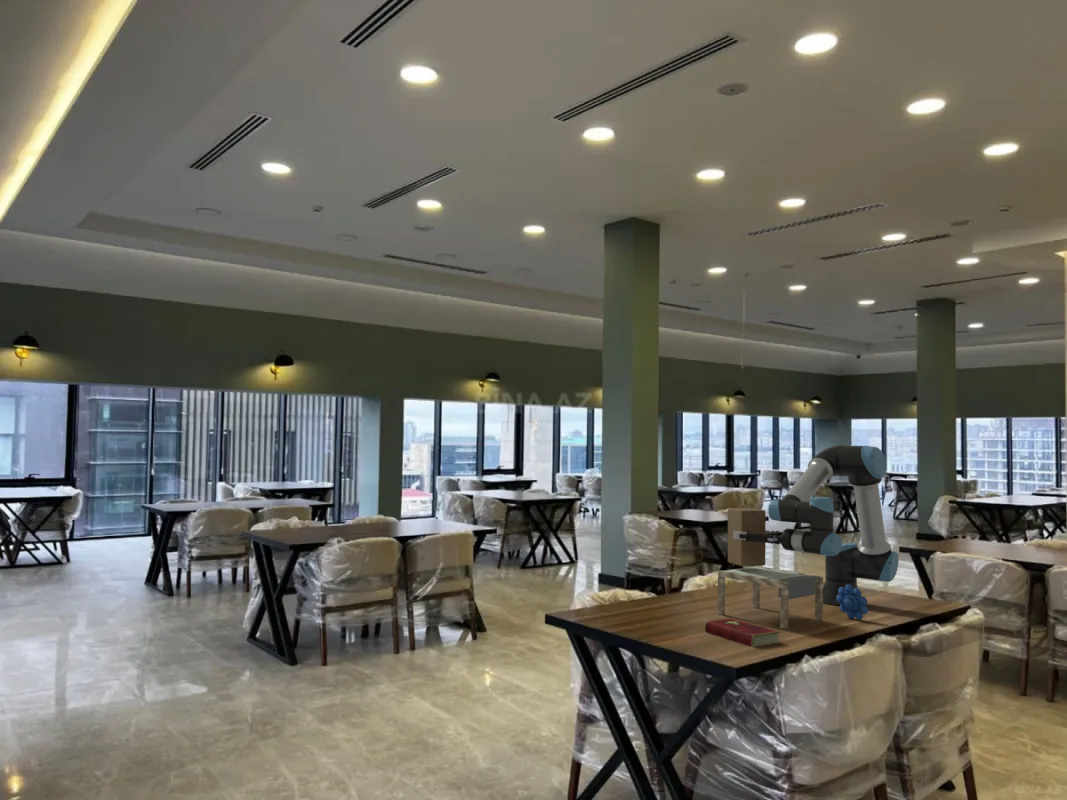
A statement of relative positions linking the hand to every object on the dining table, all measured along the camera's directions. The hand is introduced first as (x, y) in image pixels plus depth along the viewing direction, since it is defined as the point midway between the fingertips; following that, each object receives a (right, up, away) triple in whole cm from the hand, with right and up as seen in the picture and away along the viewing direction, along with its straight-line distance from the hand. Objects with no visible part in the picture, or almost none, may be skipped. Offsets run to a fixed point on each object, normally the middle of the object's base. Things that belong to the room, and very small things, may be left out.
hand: (744, 533), depth 299 cm
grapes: (+35, -29, -9) cm, 47 cm away
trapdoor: (+7, -19, -9) cm, 22 cm away
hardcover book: (-11, -27, -40) cm, 50 cm away
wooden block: (0, -11, -1) cm, 11 cm away
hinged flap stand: (+6, -28, -10) cm, 31 cm away
